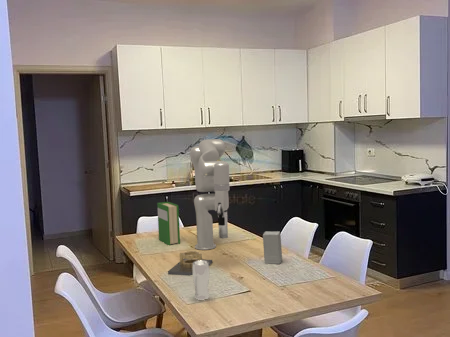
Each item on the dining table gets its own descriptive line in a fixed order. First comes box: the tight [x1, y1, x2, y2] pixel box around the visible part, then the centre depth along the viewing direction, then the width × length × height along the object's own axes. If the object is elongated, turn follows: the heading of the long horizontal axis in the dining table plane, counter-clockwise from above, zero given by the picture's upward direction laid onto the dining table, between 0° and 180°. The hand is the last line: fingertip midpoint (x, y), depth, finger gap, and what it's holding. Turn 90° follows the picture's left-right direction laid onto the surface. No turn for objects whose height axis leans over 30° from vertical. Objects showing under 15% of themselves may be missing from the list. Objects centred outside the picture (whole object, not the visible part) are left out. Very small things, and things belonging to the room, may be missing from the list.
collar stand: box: [167, 251, 213, 276], centre depth 227 cm, size 22×16×8 cm
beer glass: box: [192, 260, 210, 301], centre depth 186 cm, size 7×7×15 cm
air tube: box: [218, 208, 229, 239], centre depth 223 cm, size 5×5×16 cm
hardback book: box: [156, 201, 181, 246], centre depth 283 cm, size 18×7×24 cm, turn 28°
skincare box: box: [262, 231, 283, 265], centre depth 232 cm, size 8×7×16 cm
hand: (222, 223), depth 224 cm, fingers closed on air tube, 4 cm apart
